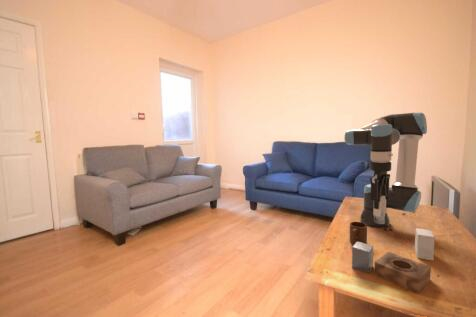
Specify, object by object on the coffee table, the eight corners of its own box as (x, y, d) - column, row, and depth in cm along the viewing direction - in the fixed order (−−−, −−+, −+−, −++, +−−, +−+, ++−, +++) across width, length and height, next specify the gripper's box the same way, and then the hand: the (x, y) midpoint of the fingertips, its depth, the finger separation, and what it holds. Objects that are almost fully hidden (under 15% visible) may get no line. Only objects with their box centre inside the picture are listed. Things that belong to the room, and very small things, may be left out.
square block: (352, 267, 93) (352, 246, 92) (356, 261, 98) (357, 241, 97) (368, 273, 89) (368, 251, 88) (372, 266, 93) (373, 246, 92)
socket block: (374, 274, 89) (374, 261, 88) (387, 262, 96) (388, 251, 95) (418, 293, 77) (418, 279, 77) (430, 279, 84) (430, 266, 84)
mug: (362, 251, 105) (362, 232, 104) (344, 246, 110) (345, 228, 109) (368, 241, 114) (368, 223, 113) (352, 237, 119) (352, 220, 118)
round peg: (372, 222, 100) (372, 195, 99) (376, 219, 103) (377, 193, 101) (382, 225, 97) (382, 197, 96) (386, 222, 99) (387, 195, 98)
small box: (433, 261, 95) (435, 237, 94) (416, 258, 98) (417, 234, 97) (430, 252, 102) (431, 230, 101) (414, 249, 105) (415, 227, 104)
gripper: (381, 164, 89) (379, 222, 92) (399, 159, 99) (397, 211, 101) (361, 162, 95) (360, 217, 98) (380, 158, 105) (379, 207, 107)
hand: (379, 214), depth 99 cm, fingers closed on round peg, 4 cm apart
